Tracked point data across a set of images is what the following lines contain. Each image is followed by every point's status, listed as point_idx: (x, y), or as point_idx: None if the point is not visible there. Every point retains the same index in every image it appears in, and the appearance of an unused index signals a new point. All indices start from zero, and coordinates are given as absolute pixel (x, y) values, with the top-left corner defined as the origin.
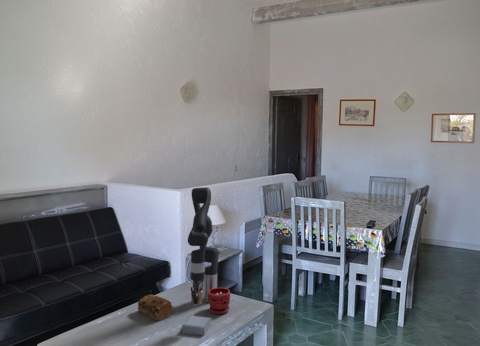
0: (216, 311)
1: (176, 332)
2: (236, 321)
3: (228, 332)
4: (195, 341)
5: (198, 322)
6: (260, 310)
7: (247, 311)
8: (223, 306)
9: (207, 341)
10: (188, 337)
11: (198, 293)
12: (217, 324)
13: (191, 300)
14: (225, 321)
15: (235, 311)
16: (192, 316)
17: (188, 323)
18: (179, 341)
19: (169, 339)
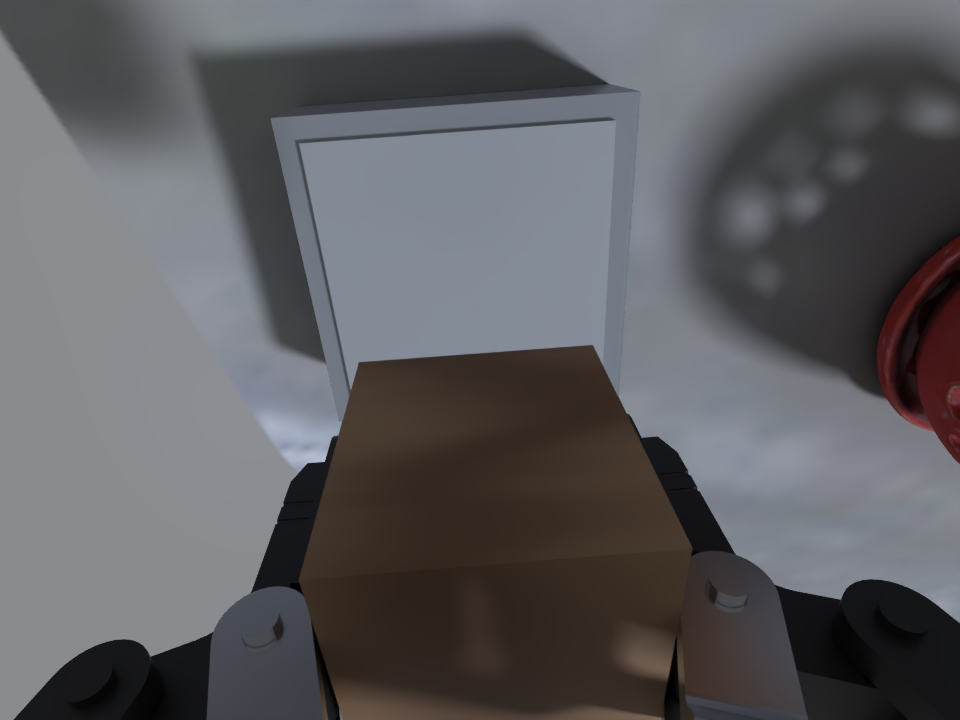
0: (893, 338)
1: (270, 16)
2: (722, 521)
3: None
4: (203, 338)
5: (441, 312)
6: (952, 610)
7: (938, 541)
8: (940, 440)
9: (267, 434)
10: (237, 235)
11: (495, 716)
12: (630, 402)
13: (347, 412)
14: (709, 446)
15: (946, 459)
16: (600, 152)
17: (356, 193)
18: (94, 173)
19: (47, 10)
